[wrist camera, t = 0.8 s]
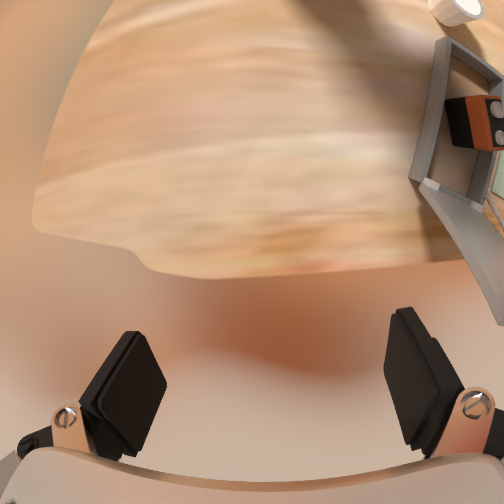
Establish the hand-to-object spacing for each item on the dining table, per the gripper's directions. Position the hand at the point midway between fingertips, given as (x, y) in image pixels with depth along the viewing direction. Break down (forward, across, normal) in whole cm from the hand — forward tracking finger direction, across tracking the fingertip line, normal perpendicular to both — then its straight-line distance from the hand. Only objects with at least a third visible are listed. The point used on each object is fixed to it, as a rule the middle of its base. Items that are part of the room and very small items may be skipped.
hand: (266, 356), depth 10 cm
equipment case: (+28, -28, -9) cm, 41 cm away
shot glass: (+29, -30, -27) cm, 50 cm away
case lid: (+14, -23, +4) cm, 27 cm away
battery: (+29, -28, -9) cm, 41 cm away
